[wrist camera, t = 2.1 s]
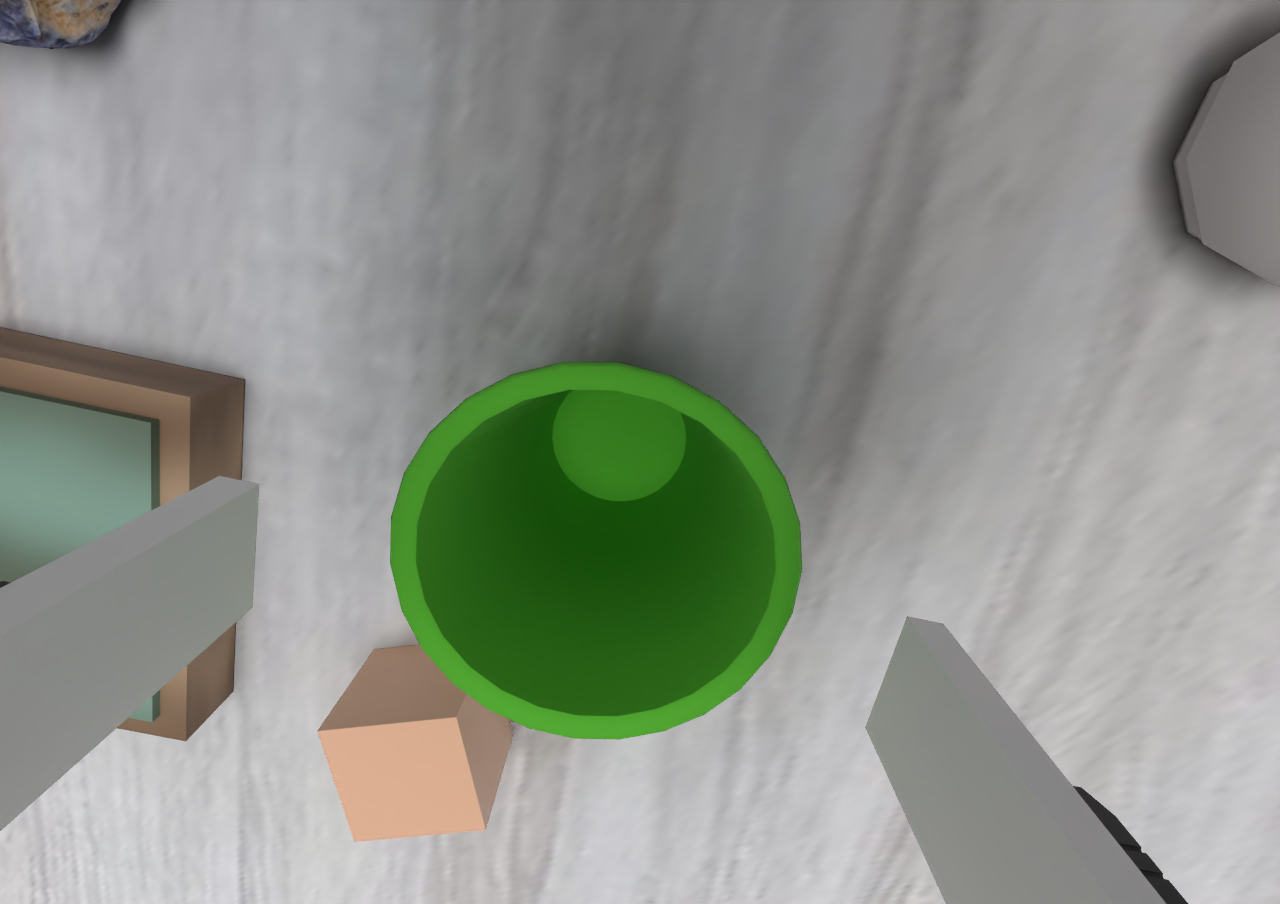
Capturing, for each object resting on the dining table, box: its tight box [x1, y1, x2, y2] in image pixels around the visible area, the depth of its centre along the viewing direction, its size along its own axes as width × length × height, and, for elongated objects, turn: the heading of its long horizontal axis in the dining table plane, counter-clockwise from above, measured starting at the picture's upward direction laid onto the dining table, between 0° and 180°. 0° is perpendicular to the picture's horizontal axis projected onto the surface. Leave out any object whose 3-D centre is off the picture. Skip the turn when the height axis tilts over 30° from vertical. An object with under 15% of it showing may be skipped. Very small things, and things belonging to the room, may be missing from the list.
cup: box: [390, 362, 802, 739], centre depth 20 cm, size 9×9×11 cm
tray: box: [0, 327, 245, 741], centre depth 25 cm, size 14×14×3 cm
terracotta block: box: [317, 644, 513, 842], centre depth 26 cm, size 5×5×5 cm
